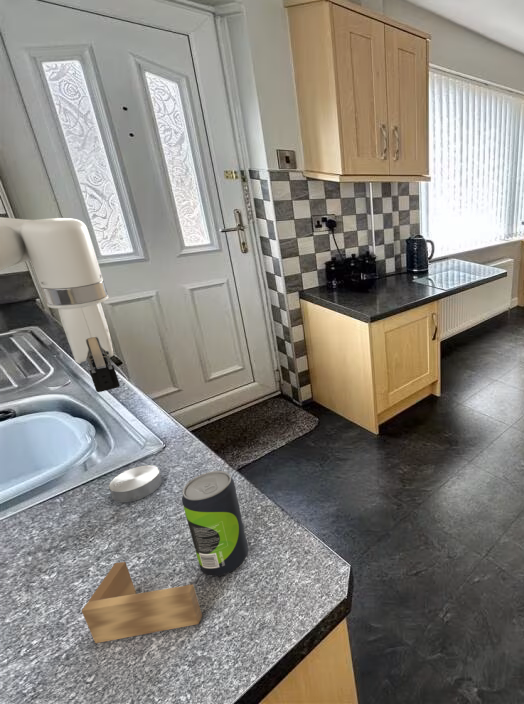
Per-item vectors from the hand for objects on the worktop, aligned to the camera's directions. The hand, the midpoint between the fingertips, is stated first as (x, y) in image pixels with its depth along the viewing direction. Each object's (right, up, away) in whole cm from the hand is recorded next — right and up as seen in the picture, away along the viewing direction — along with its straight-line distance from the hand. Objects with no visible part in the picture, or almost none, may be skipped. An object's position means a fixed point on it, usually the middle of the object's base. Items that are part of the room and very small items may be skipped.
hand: (108, 388), depth 78 cm
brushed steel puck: (+5, -19, +1) cm, 20 cm away
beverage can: (+30, -25, -12) cm, 41 cm away
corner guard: (+26, -27, -20) cm, 43 cm away
